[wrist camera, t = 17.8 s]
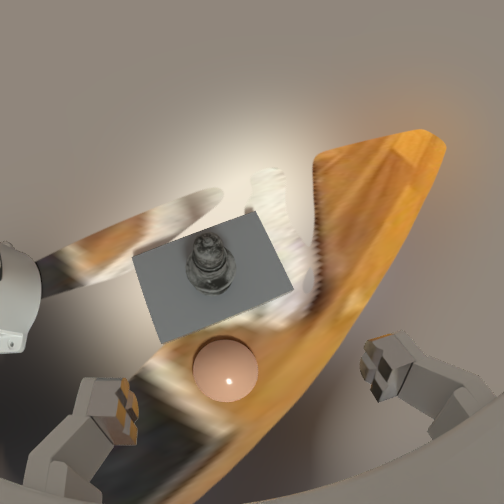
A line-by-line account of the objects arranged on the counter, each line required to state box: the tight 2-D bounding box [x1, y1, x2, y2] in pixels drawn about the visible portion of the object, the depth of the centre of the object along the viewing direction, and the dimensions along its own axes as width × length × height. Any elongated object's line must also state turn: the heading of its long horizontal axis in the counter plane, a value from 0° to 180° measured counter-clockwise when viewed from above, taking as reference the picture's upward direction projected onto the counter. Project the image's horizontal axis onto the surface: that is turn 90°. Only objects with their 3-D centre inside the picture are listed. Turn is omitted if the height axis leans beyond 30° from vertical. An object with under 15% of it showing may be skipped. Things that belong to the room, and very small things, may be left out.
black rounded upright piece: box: [186, 232, 236, 296], centre depth 31 cm, size 6×6×12 cm
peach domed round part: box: [193, 340, 258, 402], centre depth 34 cm, size 8×8×1 cm
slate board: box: [132, 211, 294, 344], centre depth 38 cm, size 18×12×2 cm, turn 114°
